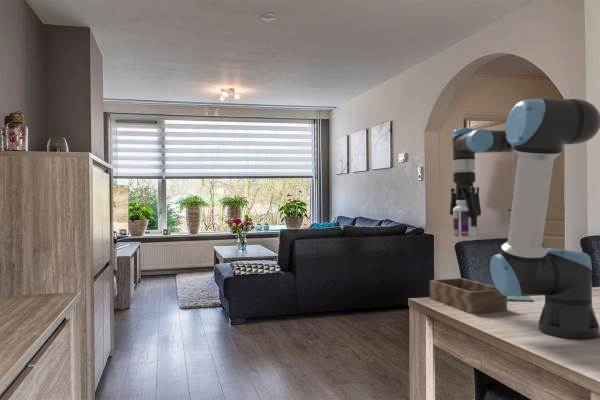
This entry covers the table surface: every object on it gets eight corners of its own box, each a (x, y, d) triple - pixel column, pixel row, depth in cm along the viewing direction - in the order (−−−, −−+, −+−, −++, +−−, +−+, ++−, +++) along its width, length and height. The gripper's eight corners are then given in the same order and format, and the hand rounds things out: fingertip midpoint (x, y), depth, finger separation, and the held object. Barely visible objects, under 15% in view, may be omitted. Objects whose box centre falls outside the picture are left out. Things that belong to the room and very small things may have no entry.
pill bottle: (480, 239, 173) (480, 199, 173) (471, 241, 167) (470, 199, 167) (459, 238, 179) (458, 200, 179) (449, 240, 173) (449, 200, 173)
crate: (507, 310, 162) (506, 289, 162) (471, 313, 159) (470, 292, 159) (461, 296, 188) (461, 278, 188) (429, 298, 184) (429, 280, 184)
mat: (533, 301, 176) (533, 299, 176) (492, 300, 179) (492, 298, 179) (525, 294, 189) (525, 292, 189) (487, 293, 193) (487, 291, 193)
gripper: (491, 169, 164) (493, 236, 164) (456, 173, 184) (457, 233, 184) (472, 169, 162) (473, 237, 162) (439, 173, 182) (440, 233, 182)
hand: (465, 235), depth 173 cm, fingers closed on pill bottle, 8 cm apart
